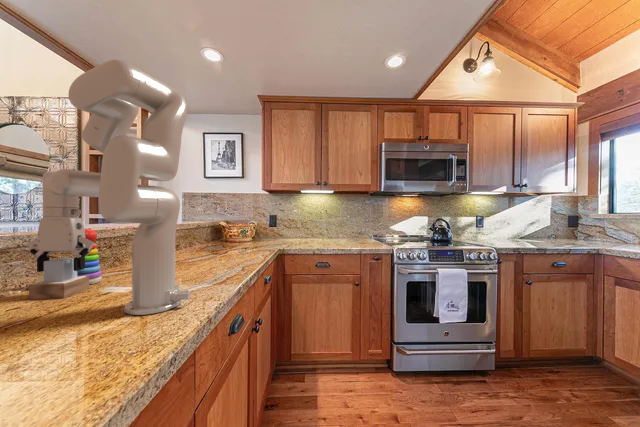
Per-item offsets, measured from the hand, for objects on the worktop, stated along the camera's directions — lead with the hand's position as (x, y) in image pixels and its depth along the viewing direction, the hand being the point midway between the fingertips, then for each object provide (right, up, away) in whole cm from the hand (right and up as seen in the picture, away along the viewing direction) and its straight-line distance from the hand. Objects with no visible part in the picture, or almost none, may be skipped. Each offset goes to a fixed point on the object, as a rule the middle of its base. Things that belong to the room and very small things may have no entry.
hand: (61, 270), depth 76 cm
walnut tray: (0, -7, 0) cm, 7 cm away
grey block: (0, -3, 0) cm, 3 cm away
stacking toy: (-2, -7, +11) cm, 13 cm away
